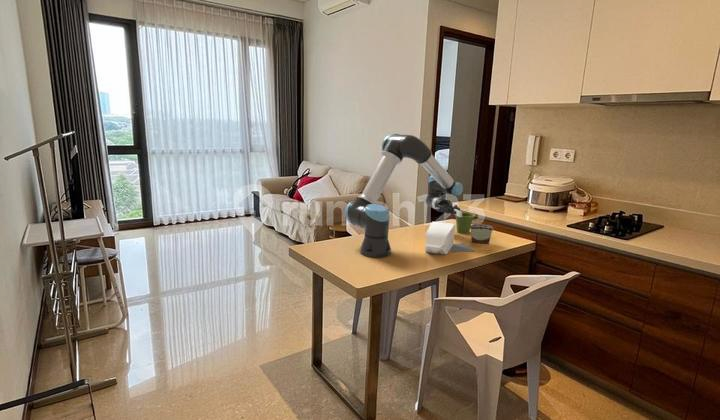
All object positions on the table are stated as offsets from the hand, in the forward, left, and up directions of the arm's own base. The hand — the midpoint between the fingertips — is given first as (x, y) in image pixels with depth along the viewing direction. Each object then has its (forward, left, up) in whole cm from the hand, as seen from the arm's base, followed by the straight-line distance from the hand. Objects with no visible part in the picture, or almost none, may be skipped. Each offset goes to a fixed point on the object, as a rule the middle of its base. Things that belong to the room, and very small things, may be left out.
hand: (460, 214), depth 198 cm
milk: (-5, +8, -12) cm, 15 cm away
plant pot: (+18, +27, -18) cm, 37 cm away
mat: (-1, 0, -18) cm, 18 cm away
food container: (+17, +7, -18) cm, 26 cm away
